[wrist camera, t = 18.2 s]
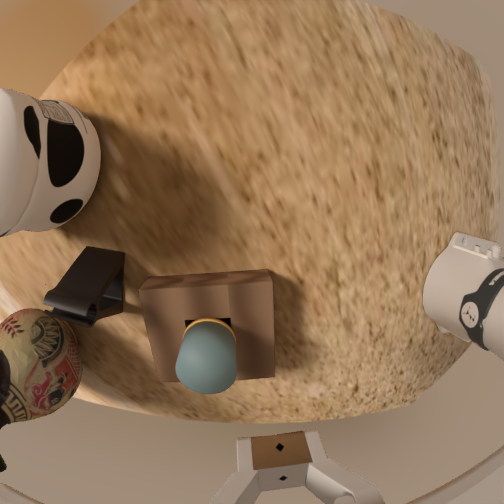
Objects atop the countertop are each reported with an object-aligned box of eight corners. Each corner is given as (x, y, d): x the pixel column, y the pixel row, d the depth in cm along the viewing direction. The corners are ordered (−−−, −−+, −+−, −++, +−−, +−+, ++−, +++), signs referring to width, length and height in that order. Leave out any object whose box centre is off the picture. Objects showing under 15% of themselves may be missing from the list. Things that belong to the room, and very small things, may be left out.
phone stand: (122, 311, 38) (89, 355, 26) (87, 303, 37) (48, 341, 26) (125, 252, 36) (85, 280, 24) (88, 245, 35) (40, 269, 24)
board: (267, 269, 38) (272, 281, 33) (270, 357, 41) (275, 376, 36) (149, 276, 37) (138, 289, 32) (166, 362, 40) (160, 382, 35)
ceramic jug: (101, 383, 41) (35, 518, 12) (34, 358, 39) (-48, 458, 10) (94, 296, 37) (-36, 433, 8) (21, 276, 35) (-105, 358, 6)
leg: (233, 298, 38) (234, 344, 27) (236, 339, 40) (239, 393, 28) (186, 301, 38) (169, 347, 26) (192, 341, 40) (181, 394, 28)
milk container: (20, 224, 34) (-61, 249, 16) (26, 117, 30) (-52, 99, 12) (107, 227, 35) (26, 261, 18) (116, 101, 31) (44, 55, 14)
